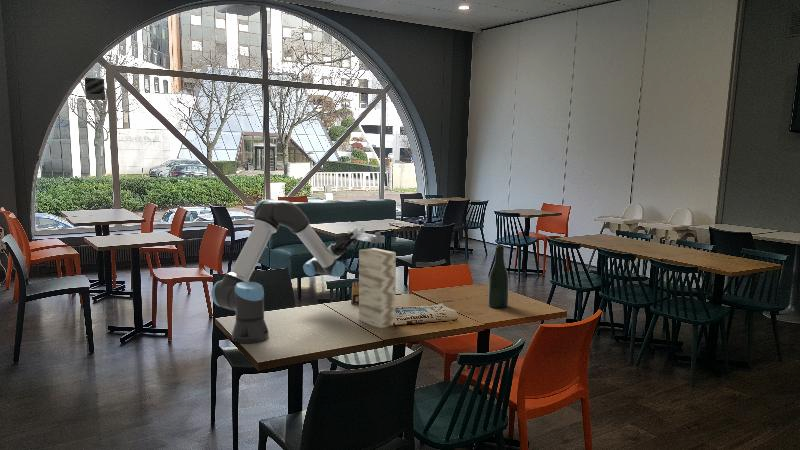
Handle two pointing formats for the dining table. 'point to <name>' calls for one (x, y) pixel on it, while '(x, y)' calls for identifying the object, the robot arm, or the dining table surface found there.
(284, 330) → the dining table surface
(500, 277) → the beer bottle
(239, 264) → the robot arm
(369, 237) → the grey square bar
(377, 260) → the stand
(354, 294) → the ammunition clip
